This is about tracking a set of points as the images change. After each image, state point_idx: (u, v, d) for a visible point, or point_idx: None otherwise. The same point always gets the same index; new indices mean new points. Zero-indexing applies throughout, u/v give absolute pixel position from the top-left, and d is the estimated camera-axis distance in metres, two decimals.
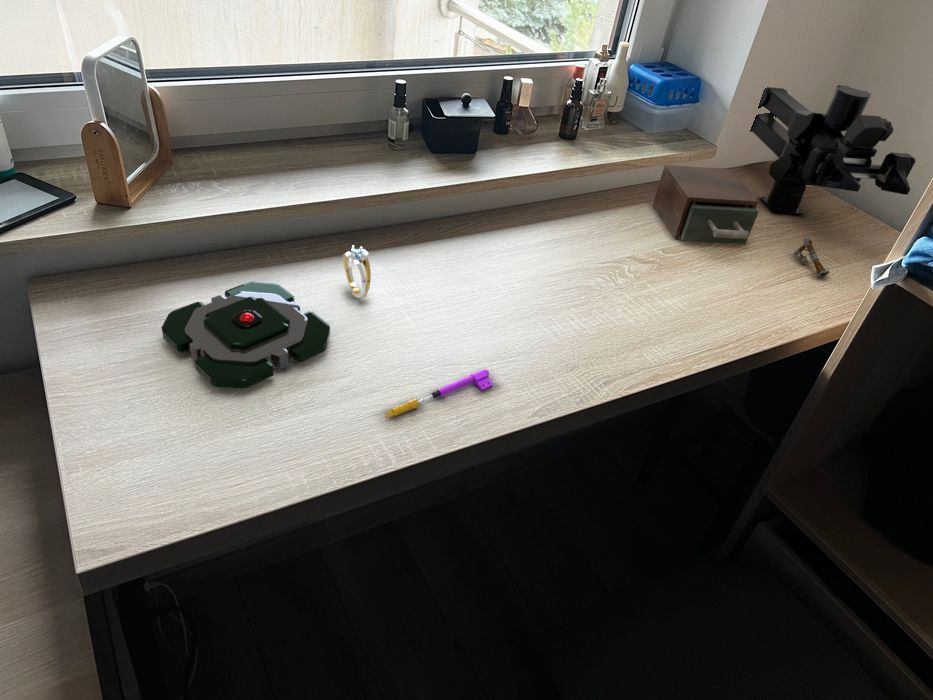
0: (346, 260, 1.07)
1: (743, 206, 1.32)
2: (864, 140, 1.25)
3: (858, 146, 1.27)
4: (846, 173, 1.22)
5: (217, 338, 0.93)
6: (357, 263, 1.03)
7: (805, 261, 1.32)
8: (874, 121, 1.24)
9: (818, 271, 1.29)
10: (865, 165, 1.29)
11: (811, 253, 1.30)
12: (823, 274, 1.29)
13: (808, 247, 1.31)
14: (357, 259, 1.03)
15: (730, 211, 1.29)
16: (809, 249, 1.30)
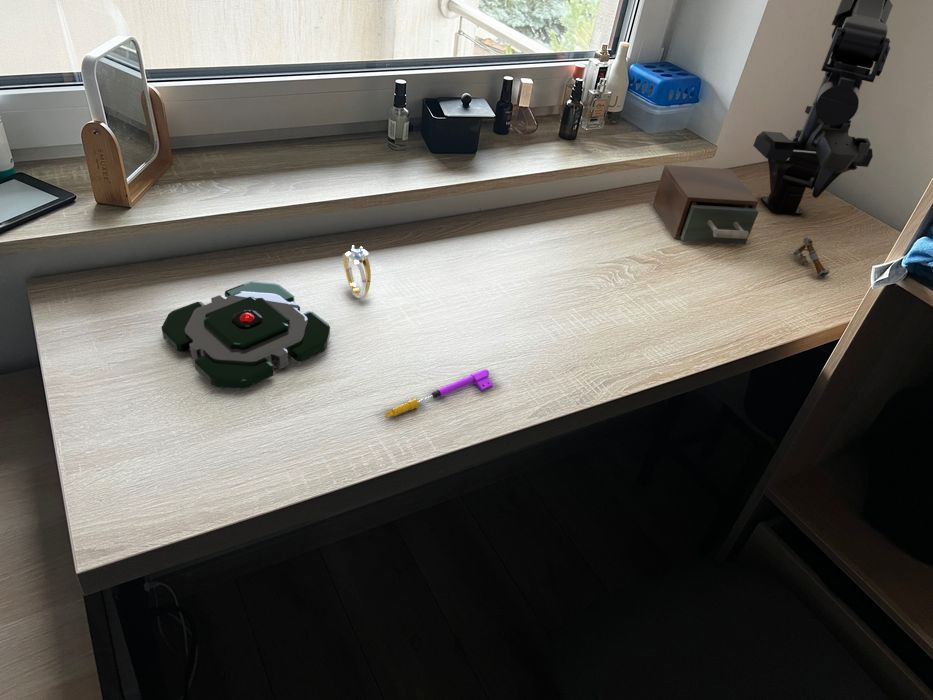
0: (346, 260, 1.07)
1: (743, 206, 1.32)
2: None
3: None
4: (777, 178, 1.22)
5: (217, 338, 0.93)
6: (357, 263, 1.03)
7: (805, 261, 1.32)
8: (841, 161, 1.14)
9: (818, 271, 1.29)
10: None
11: (811, 253, 1.30)
12: (823, 274, 1.29)
13: (808, 247, 1.31)
14: (357, 259, 1.03)
15: (730, 211, 1.29)
16: (809, 249, 1.30)
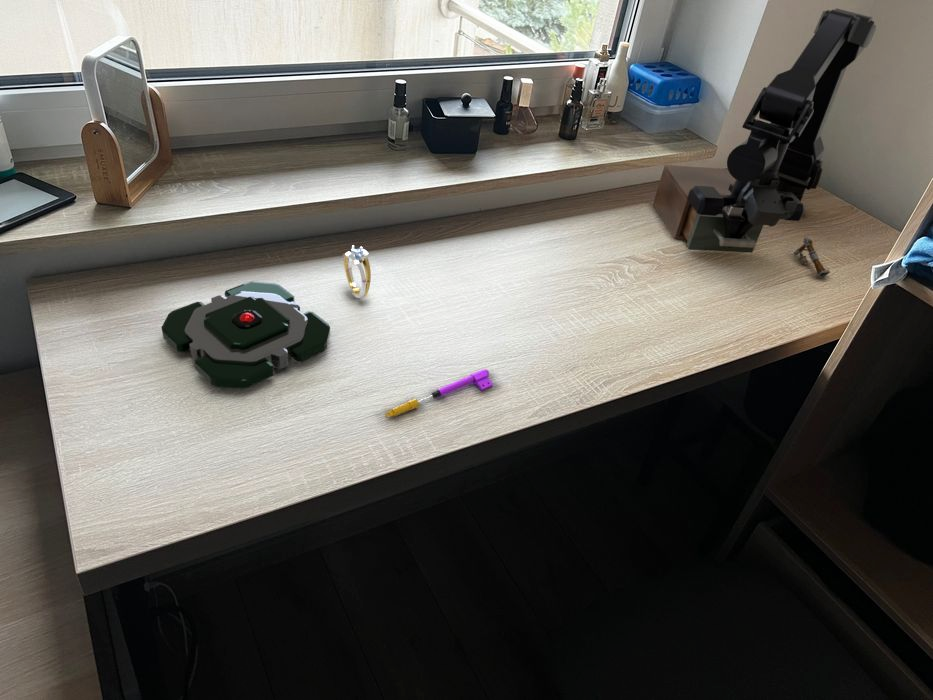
0: (346, 260, 1.07)
1: None
2: None
3: None
4: (731, 233, 1.25)
5: (217, 338, 0.93)
6: (357, 263, 1.03)
7: (805, 261, 1.32)
8: (768, 219, 1.15)
9: (818, 271, 1.29)
10: None
11: (811, 253, 1.30)
12: (823, 274, 1.29)
13: (808, 247, 1.31)
14: (357, 259, 1.03)
15: None
16: (809, 249, 1.30)
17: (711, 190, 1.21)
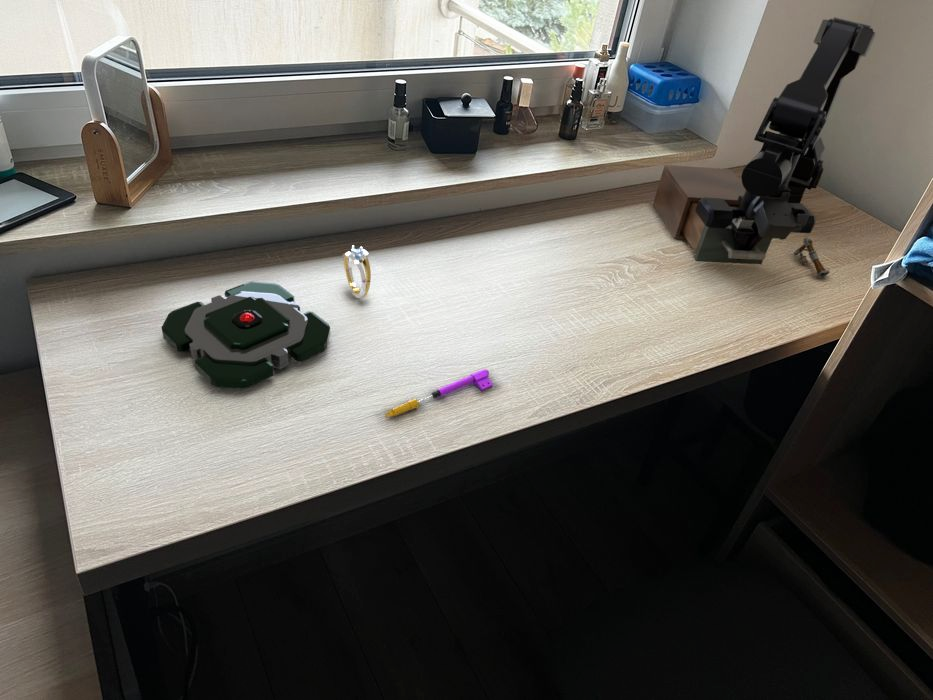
0: (346, 260, 1.07)
1: None
2: None
3: None
4: (740, 245, 1.22)
5: (217, 338, 0.93)
6: (357, 263, 1.03)
7: (805, 261, 1.32)
8: (779, 232, 1.12)
9: (818, 271, 1.29)
10: None
11: (811, 253, 1.30)
12: (823, 274, 1.29)
13: (808, 247, 1.31)
14: (357, 259, 1.03)
15: None
16: (809, 249, 1.30)
17: (720, 202, 1.18)
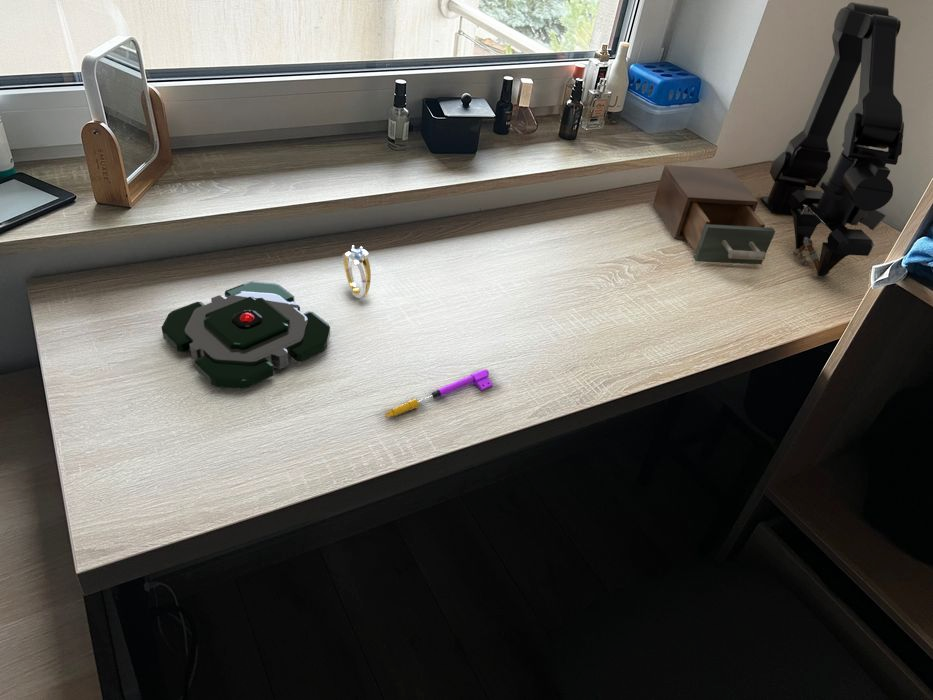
0: (346, 260, 1.07)
1: (759, 225, 1.27)
2: None
3: None
4: (836, 262, 1.25)
5: (217, 338, 0.93)
6: (357, 263, 1.03)
7: (805, 261, 1.32)
8: None
9: None
10: None
11: (811, 253, 1.30)
12: None
13: (808, 247, 1.31)
14: (357, 259, 1.03)
15: (746, 231, 1.24)
16: (809, 249, 1.30)
17: (848, 231, 1.19)
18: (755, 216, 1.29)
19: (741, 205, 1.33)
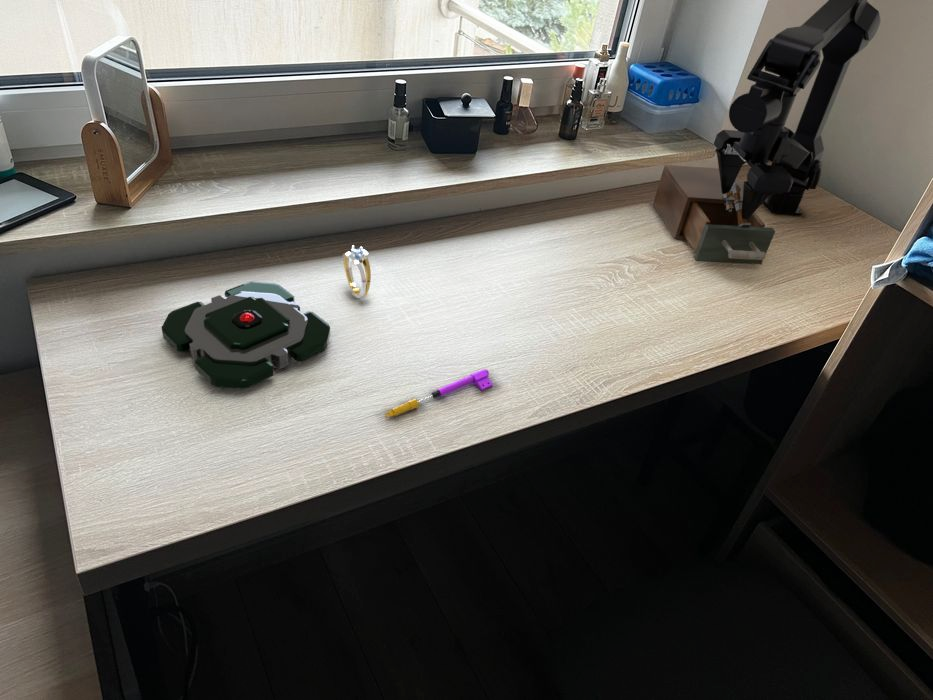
0: (346, 260, 1.07)
1: (759, 225, 1.27)
2: None
3: None
4: None
5: (217, 338, 0.93)
6: (357, 263, 1.03)
7: (730, 208, 1.28)
8: None
9: (739, 222, 1.25)
10: None
11: (737, 202, 1.26)
12: (744, 225, 1.26)
13: (735, 195, 1.26)
14: (357, 259, 1.03)
15: (746, 231, 1.24)
16: (736, 197, 1.26)
17: (767, 167, 1.15)
18: (755, 216, 1.29)
19: None
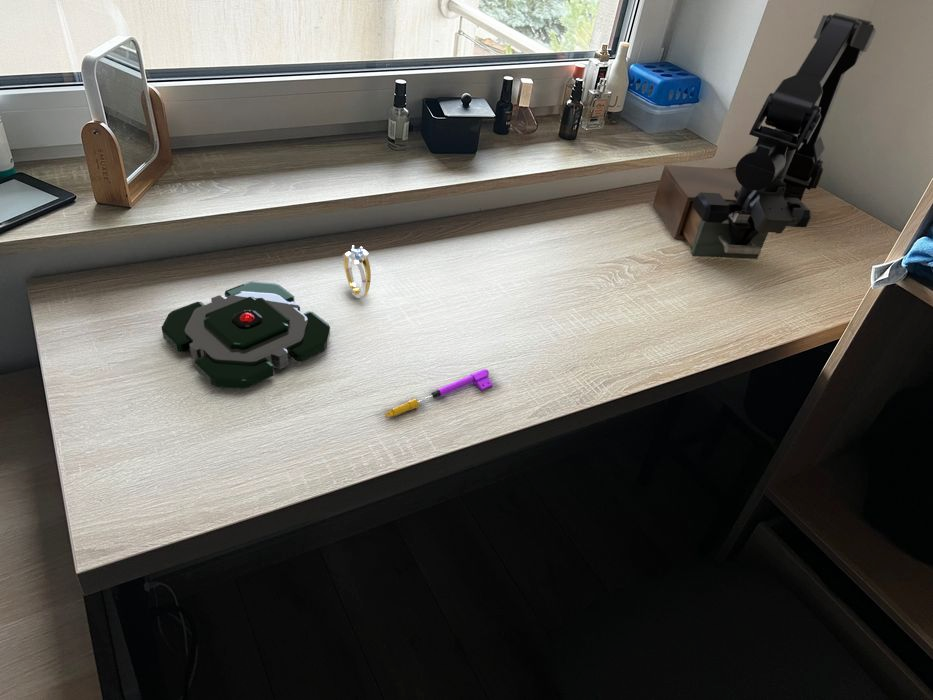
0: (346, 260, 1.07)
1: None
2: None
3: None
4: (737, 239, 1.23)
5: (217, 338, 0.93)
6: (357, 263, 1.03)
7: None
8: (775, 226, 1.14)
9: None
10: None
11: None
12: None
13: None
14: (357, 259, 1.03)
15: None
16: None
17: (716, 197, 1.19)
18: None
19: None
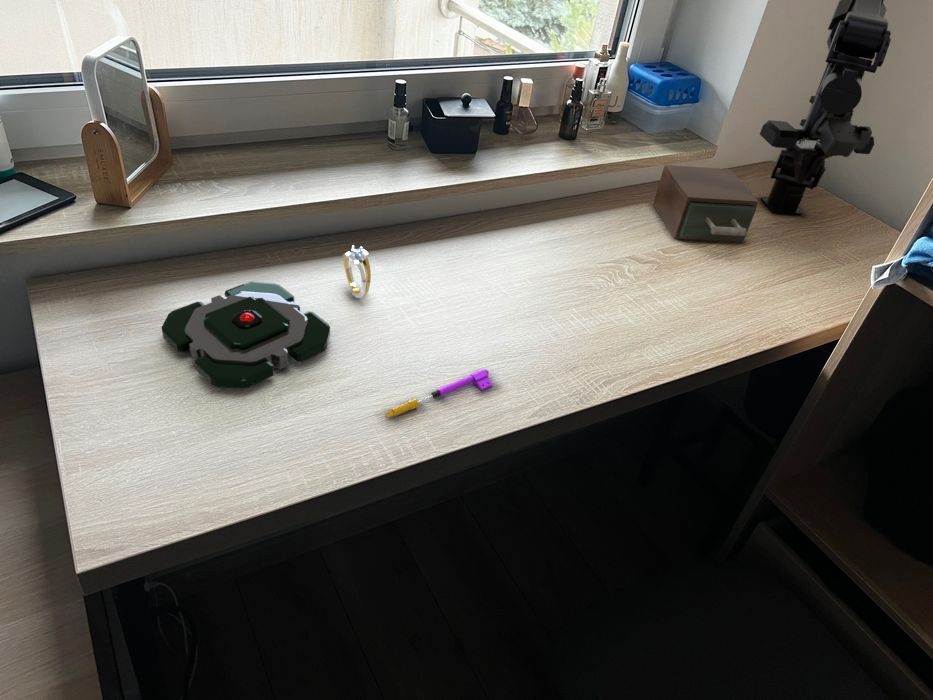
0: (346, 260, 1.07)
1: None
2: None
3: None
4: (802, 167, 1.28)
5: (217, 338, 0.93)
6: (357, 263, 1.03)
7: None
8: (843, 149, 1.19)
9: None
10: None
11: None
12: None
13: None
14: (357, 259, 1.03)
15: (728, 208, 1.30)
16: None
17: (784, 124, 1.25)
18: None
19: None
